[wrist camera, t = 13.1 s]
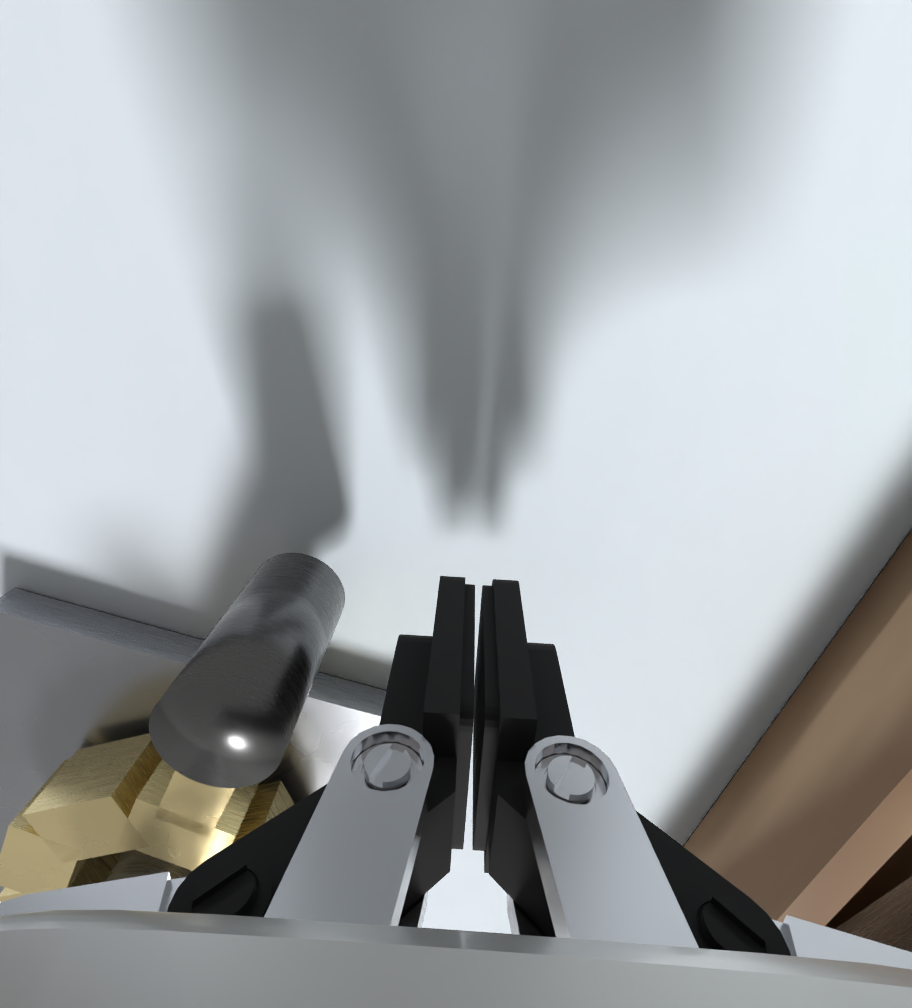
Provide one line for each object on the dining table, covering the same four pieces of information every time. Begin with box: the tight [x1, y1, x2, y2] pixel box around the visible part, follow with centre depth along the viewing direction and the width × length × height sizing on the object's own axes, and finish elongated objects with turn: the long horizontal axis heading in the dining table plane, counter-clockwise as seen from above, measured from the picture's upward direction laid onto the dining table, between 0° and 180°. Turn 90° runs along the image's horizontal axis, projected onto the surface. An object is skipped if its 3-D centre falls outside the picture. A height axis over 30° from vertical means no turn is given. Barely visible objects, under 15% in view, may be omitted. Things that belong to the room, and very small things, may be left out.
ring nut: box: [0, 553, 345, 902], centre depth 13 cm, size 14×8×4 cm, turn 152°
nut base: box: [0, 588, 386, 893], centre depth 15 cm, size 12×12×6 cm
